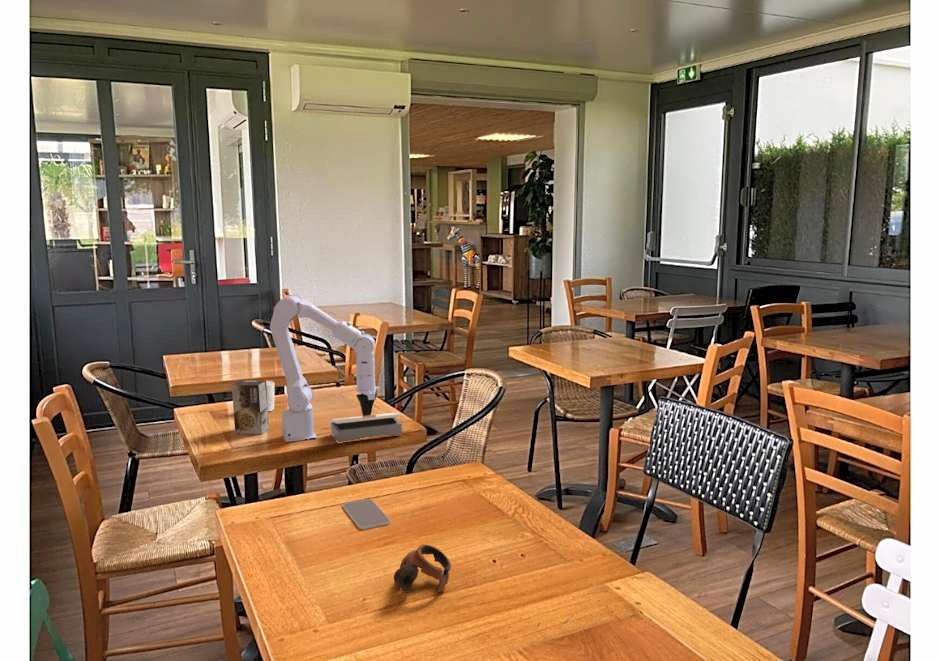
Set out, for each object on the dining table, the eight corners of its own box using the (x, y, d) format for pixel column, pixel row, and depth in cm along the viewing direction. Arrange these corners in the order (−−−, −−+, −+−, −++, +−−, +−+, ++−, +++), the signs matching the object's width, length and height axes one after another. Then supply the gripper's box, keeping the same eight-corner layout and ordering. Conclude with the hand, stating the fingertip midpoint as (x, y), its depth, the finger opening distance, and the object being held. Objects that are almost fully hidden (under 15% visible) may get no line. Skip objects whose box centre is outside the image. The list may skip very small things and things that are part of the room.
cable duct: (337, 443, 213) (337, 431, 212) (331, 434, 222) (331, 422, 222) (401, 436, 220) (401, 423, 220) (393, 427, 229) (392, 415, 229)
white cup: (251, 409, 251) (249, 382, 249) (273, 406, 254) (272, 379, 253) (254, 415, 244) (252, 386, 242) (277, 412, 247) (276, 384, 245)
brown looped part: (409, 570, 138) (430, 536, 137) (442, 604, 134) (464, 570, 133) (372, 582, 128) (394, 546, 127) (406, 619, 124) (430, 582, 122)
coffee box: (269, 428, 228) (267, 380, 226) (261, 434, 222) (259, 384, 219) (242, 427, 229) (239, 379, 227) (234, 433, 223) (231, 384, 220)
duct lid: (337, 423, 212) (336, 419, 212) (331, 421, 222) (330, 417, 222) (401, 416, 219) (400, 412, 220) (392, 415, 229) (392, 410, 229)
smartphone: (370, 498, 171) (392, 521, 158) (371, 501, 171) (392, 525, 158) (341, 503, 168) (360, 527, 155) (341, 507, 168) (360, 531, 155)
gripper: (384, 378, 212) (385, 421, 214) (372, 368, 225) (373, 409, 227) (361, 380, 209) (362, 424, 212) (350, 370, 223) (352, 411, 225)
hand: (366, 416), depth 219 cm, fingers closed, pressing on duct lid
